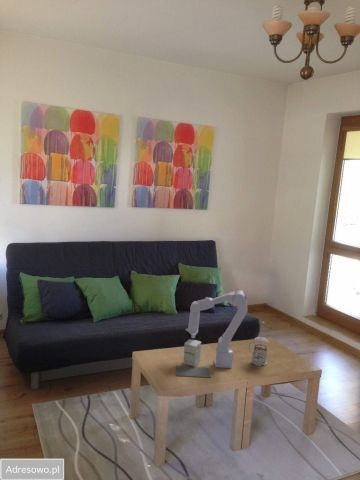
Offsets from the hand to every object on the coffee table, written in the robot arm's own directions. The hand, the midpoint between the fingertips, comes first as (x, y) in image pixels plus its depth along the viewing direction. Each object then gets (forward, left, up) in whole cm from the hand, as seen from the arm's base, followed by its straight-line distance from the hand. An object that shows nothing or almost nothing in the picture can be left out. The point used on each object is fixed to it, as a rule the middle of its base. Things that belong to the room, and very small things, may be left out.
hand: (191, 345), depth 240 cm
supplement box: (-1, +5, -9) cm, 10 cm away
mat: (-1, +15, -9) cm, 17 cm away
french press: (-40, -2, -10) cm, 41 cm away
